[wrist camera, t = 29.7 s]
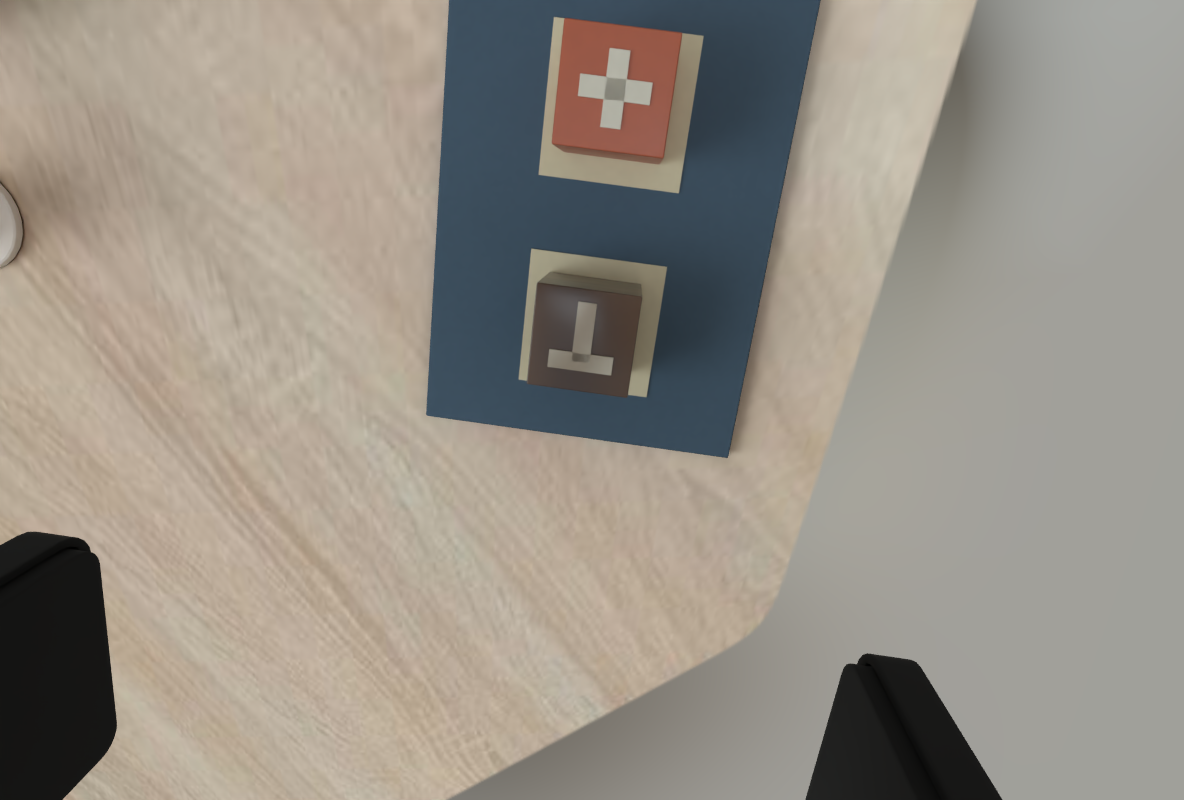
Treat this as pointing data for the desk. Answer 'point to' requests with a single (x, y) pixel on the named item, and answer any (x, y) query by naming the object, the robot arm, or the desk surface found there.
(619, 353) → the wooden letter block
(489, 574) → the desk surface
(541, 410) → the mat
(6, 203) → the candle
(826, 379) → the desk surface
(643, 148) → the rust brown block
